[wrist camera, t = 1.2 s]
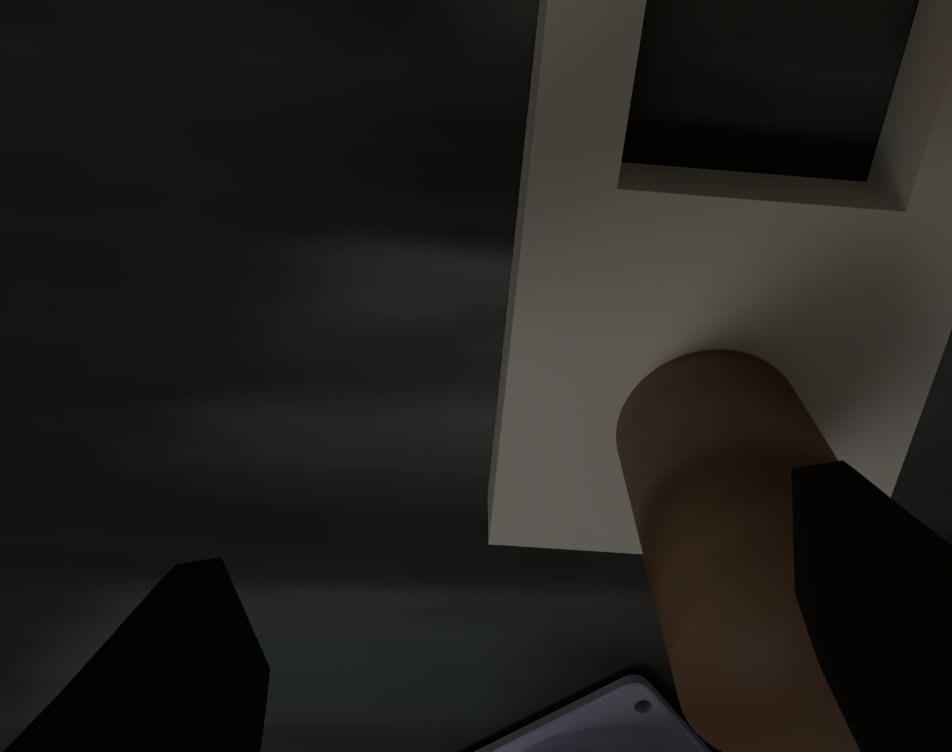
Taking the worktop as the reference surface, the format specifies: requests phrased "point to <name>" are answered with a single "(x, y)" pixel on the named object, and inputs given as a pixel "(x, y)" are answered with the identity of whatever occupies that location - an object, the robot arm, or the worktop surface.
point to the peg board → (707, 278)
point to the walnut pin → (729, 548)
